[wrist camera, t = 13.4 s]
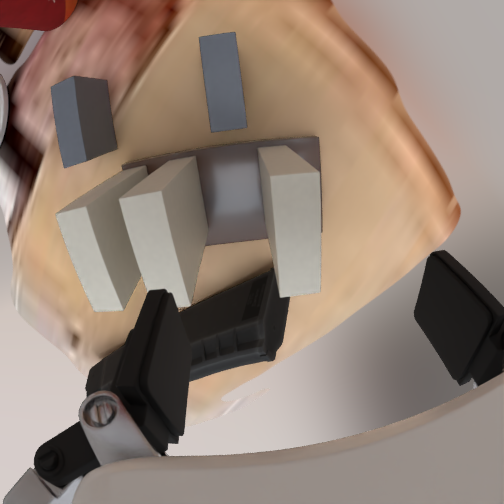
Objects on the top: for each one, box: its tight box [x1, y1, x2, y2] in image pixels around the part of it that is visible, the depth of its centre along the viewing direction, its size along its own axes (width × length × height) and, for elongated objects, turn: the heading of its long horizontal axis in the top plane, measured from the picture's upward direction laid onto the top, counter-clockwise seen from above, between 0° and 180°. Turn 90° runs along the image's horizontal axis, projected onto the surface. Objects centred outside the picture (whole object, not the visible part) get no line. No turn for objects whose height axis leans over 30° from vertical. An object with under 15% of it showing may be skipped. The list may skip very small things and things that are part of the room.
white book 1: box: [56, 165, 148, 312], centre depth 20 cm, size 7×2×11 cm, turn 6°
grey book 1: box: [51, 76, 117, 168], centre depth 19 cm, size 7×2×6 cm, turn 6°
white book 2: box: [119, 156, 209, 307], centre depth 20 cm, size 7×2×11 cm, turn 6°
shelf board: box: [122, 136, 322, 246], centre depth 25 cm, size 9×17×1 cm, turn 96°
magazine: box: [85, 268, 290, 397], centre depth 28 cm, size 17×3×30 cm
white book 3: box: [257, 145, 321, 297], centre depth 19 cm, size 7×2×11 cm, turn 6°
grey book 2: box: [199, 32, 247, 133], centre depth 18 cm, size 7×2×6 cm, turn 6°
